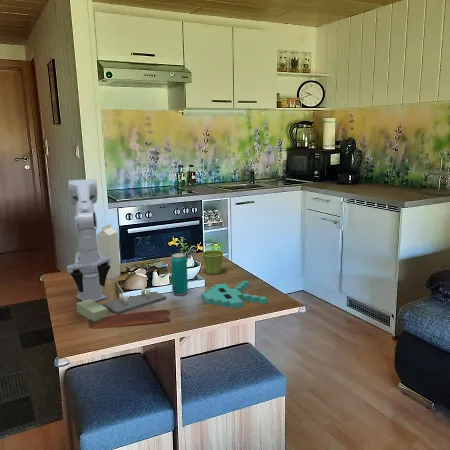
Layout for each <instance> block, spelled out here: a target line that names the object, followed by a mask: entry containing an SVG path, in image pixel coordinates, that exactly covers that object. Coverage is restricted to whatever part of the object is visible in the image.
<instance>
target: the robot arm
mask: <svg viewBox="0 0 450 450" xmlns="http://www.w3.org/2000/svg"><path fill="white" fill-rule="evenodd" d="M67 183H68V193H69V194H68V195H69V197H70V198H69V199H70V203H71V205H74V206H75V215H74V222H75V230H76V235H77V238H78V239H77V242H78V251H77V252H76V253H75V255H74V259H75V260H74V263H72V264H69V265H66V271H67V273H69V274H70V275H71V277H72V279H73V280H74V282H75V285H76V287H77V295H76V296H75V297H76V298H77V299H79V300H81V302H82V301H85V300H88V299H91V300H93V301H95V302H99V301H100V300H105V299H107V298H108V296H107V295H105V294H103V287H105V285H106V276H107V273H108V271H109V269H110V265H108V264H110V263H111V258H110V257H104V258H103V256H102V253H101V251H99V250H98V241H97V229H98V220H97V214H96V210H95V209H94V208H95V205H94V204H96V203H98V185H97V179H96V178H91V179H89V178H88V179H73V180H72V179H69V180H68V182H67Z"/></svg>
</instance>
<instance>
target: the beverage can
mask: <svg viewBox="0 0 450 450" xmlns="http://www.w3.org/2000/svg"><path fill="white" fill-rule="evenodd" d="M186 256H187V255H186V254H185V253H182V252H181V253H180V252H179V253H172V254H171V259H170V263H171V264H170V265H171V267H170V269H171V284H172V285H171V288H172V289H171V290H172V292H173V294H174V295H175V296H185V295H186V294H187V293H188V289H189V285H188V281H189V280H188V263H187V262H188V261H187V259H188V258H187V257H186Z"/></svg>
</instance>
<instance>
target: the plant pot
mask: <svg viewBox="0 0 450 450" xmlns="http://www.w3.org/2000/svg"><path fill="white" fill-rule="evenodd" d="M224 255H225V251H222V250H215V249H213V250H212V249H211V250H205V251H203V252H202V253H201V256H202V258H203V262H204V265H205V266H204V267H205V271H206V274H208V275H218V274H221V272H222V271H221V270H222V262H223V257H224Z"/></svg>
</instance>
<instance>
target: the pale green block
mask: <svg viewBox="0 0 450 450" xmlns="http://www.w3.org/2000/svg"><path fill="white" fill-rule="evenodd" d="M76 311H77V313H78V314H80V315H82V317H85V318H87V319H88V320H89V319H90V320H92V321H97V320H99V319H102V318H105V317H108V316H109V314H108V313H109V312H108V311H109V310H108V309H107V308H106V307H104V306H103V304H100V303H98V302H97V301H93V300H91V299H88V300H85V301H82V300H81V301H79V302H76Z"/></svg>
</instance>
